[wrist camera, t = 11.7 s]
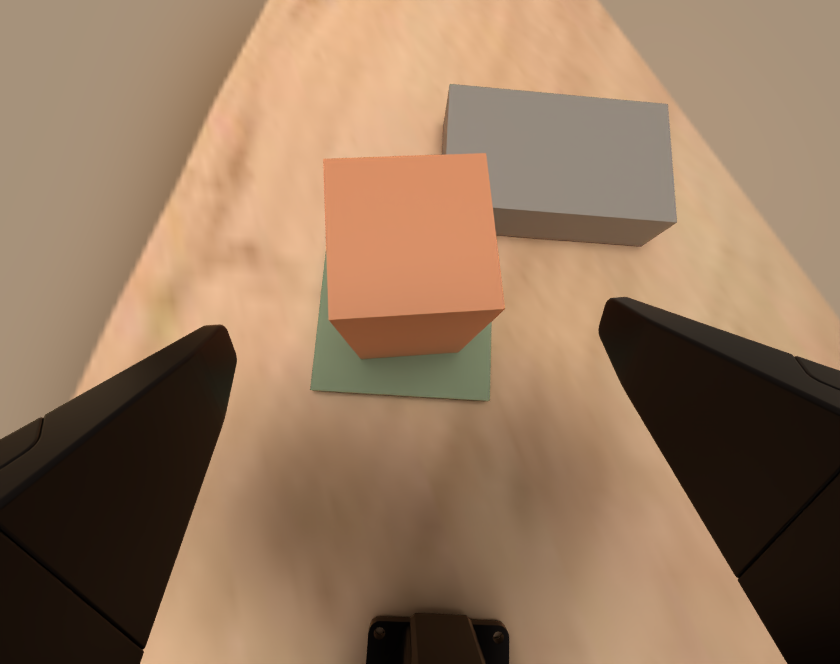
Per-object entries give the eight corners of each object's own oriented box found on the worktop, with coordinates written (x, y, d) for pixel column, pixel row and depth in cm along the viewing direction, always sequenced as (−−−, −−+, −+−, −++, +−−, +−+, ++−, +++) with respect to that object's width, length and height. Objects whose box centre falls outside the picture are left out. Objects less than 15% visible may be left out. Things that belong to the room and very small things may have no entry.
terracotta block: (458, 352, 20) (505, 308, 11) (360, 359, 20) (328, 320, 11) (449, 260, 21) (486, 153, 12) (356, 265, 20) (323, 159, 12)
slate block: (641, 246, 23) (676, 222, 20) (437, 230, 22) (443, 203, 19) (635, 141, 24) (667, 104, 21) (443, 124, 24) (449, 84, 21)
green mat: (485, 400, 20) (489, 400, 19) (314, 390, 20) (310, 390, 19) (489, 242, 22) (493, 235, 21) (332, 230, 22) (329, 222, 21)
